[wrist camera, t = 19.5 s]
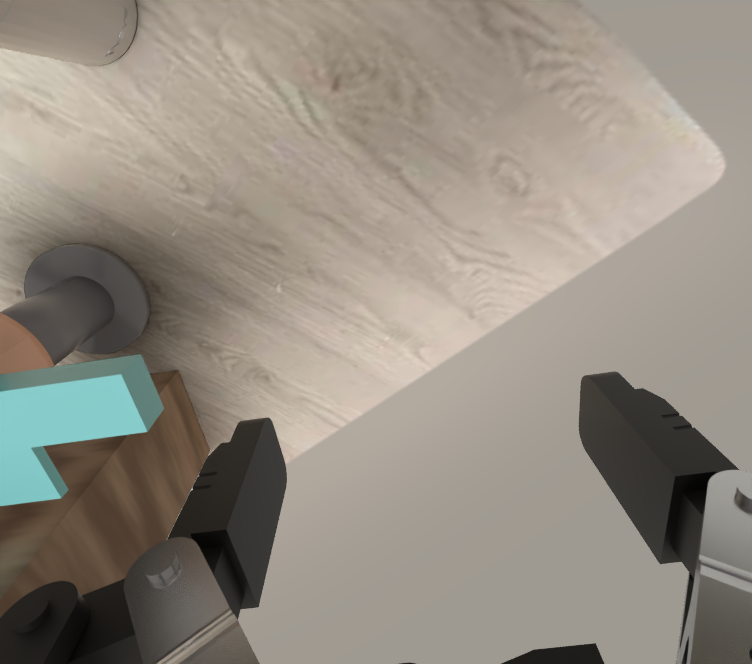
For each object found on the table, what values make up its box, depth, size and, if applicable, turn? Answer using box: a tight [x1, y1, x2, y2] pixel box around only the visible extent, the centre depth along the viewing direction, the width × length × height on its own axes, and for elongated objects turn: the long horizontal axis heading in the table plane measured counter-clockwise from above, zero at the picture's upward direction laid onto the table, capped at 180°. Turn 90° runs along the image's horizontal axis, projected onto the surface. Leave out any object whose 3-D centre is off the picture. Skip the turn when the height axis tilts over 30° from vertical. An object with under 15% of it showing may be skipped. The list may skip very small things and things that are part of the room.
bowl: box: [0, 243, 150, 374], centre depth 39 cm, size 12×12×22 cm
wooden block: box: [0, 370, 210, 618], centre depth 41 cm, size 12×12×30 cm
